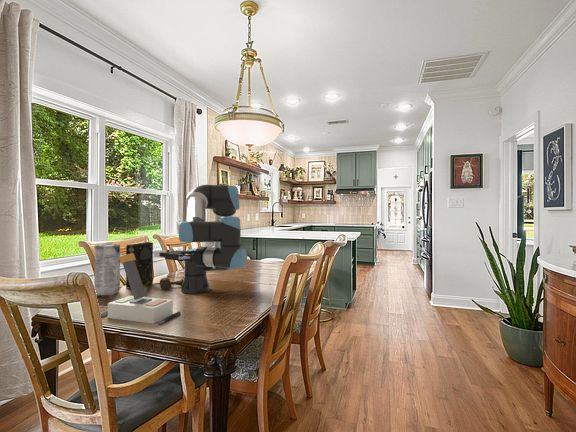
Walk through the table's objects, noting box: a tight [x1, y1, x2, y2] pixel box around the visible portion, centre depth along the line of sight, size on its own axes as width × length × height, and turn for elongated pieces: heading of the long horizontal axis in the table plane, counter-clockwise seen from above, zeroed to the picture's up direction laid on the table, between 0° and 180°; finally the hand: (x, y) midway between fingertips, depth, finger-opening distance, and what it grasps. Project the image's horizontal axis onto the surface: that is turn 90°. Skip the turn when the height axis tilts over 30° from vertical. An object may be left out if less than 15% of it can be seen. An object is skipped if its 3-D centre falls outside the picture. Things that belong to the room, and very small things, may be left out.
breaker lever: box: [119, 253, 147, 300], centre depth 131 cm, size 2×6×19 cm, turn 165°
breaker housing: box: [107, 295, 174, 324], centre depth 130 cm, size 22×12×7 cm, turn 75°
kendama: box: [152, 276, 184, 291], centre depth 179 cm, size 6×10×20 cm
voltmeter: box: [125, 241, 154, 289], centre depth 182 cm, size 16×9×25 cm, turn 168°
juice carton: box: [94, 241, 121, 296], centre depth 164 cm, size 9×10×27 cm
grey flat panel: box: [100, 310, 181, 326], centre depth 131 cm, size 29×13×1 cm, turn 75°
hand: (155, 253), depth 127 cm, fingers closed
